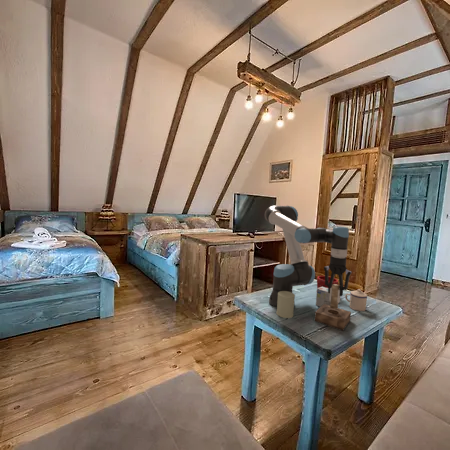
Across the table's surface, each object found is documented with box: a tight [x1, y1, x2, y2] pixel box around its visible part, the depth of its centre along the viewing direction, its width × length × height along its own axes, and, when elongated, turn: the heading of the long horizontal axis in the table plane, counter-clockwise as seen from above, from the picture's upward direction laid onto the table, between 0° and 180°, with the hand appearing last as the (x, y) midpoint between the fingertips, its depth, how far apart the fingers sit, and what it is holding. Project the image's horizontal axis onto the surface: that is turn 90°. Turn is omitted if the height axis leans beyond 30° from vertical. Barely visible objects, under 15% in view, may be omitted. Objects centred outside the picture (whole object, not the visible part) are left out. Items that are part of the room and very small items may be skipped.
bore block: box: [314, 304, 352, 331], centre depth 130 cm, size 14×14×5 cm
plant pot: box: [316, 275, 339, 289], centre depth 165 cm, size 13×13×12 cm
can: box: [275, 291, 296, 319], centre depth 135 cm, size 9×9×12 cm
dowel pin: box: [330, 284, 340, 309], centre depth 128 cm, size 4×4×12 cm
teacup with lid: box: [344, 288, 368, 312], centre depth 148 cm, size 12×9×12 cm
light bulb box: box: [315, 287, 331, 308], centre depth 147 cm, size 11×7×11 cm, turn 41°
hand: (334, 300), depth 129 cm, fingers closed on dowel pin, 3 cm apart
